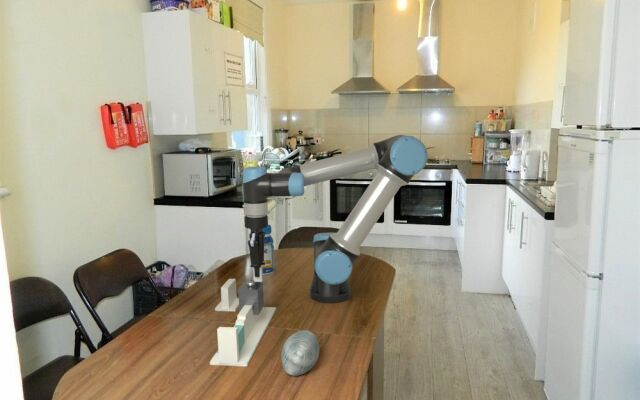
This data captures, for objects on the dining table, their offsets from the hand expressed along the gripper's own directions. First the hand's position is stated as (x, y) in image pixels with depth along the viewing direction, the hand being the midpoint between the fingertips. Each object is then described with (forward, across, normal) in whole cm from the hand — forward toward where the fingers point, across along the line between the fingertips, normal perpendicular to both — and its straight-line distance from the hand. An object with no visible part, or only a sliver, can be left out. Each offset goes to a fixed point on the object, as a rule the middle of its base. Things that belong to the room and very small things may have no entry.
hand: (258, 285), depth 155 cm
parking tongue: (+10, -5, -12) cm, 16 cm away
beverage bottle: (+10, -41, -8) cm, 43 cm away
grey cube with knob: (+5, +10, 0) cm, 11 cm away
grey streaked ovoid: (+10, +33, +20) cm, 39 cm away
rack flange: (+10, +15, 0) cm, 18 cm away
